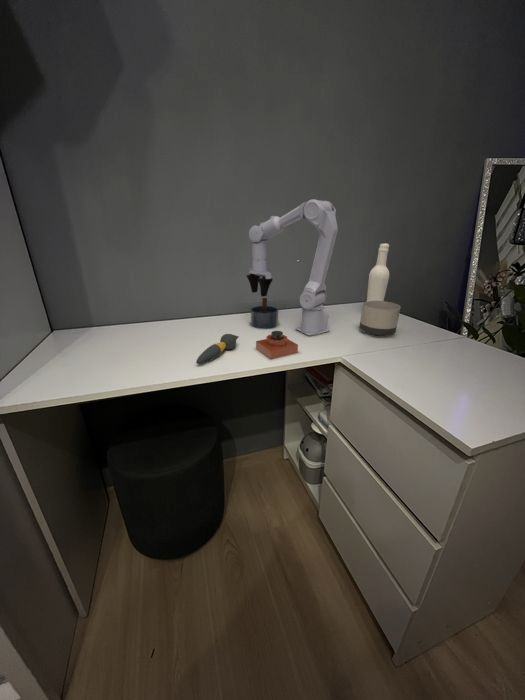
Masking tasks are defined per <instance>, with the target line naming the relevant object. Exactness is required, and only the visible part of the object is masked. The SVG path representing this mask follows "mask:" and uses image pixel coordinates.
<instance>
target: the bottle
mask: <svg viewBox="0 0 525 700" xmlns="http://www.w3.org/2000/svg"><path fill="white" fill-rule="evenodd" d="M389 247H390V244H389V243H380V244H379V248H378V250H377V251H378V252H377V259H376V264H375V265H374V266H373V267H372V268H371V270H370V272H369V274H368V282H367V295H366V301H385V297H386V293H387V288H388V285H389V280H390V271H389V268H388V267H387V261H388V260H387V259H388V253H389V250H390V249H389Z"/></svg>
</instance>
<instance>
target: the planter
mask: <svg viewBox="0 0 525 700" xmlns="http://www.w3.org/2000/svg"><path fill="white" fill-rule="evenodd" d="M400 313H401V305H399V304H397V303H395V302H392V301H391V302H390V301H386V300H384V301H367V300H366V301H364V302H362V307H361V313H360V314H361V315H360V318H359V325H358V328H359V329H360V330H361V331H362V332H364V333H365V334H367V335H371V336H375V337H387V336H392V335H394V334H395V333H396V332H397V327H398V323H399V318H400Z"/></svg>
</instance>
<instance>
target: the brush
mask: <svg viewBox="0 0 525 700" xmlns="http://www.w3.org/2000/svg"><path fill="white" fill-rule="evenodd" d="M261 299H262V301H261V306H262V311H260V312H258V313H271V312H269V311H267V306H268V298H267V297H263V298H261Z"/></svg>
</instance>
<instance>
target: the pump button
mask: <svg viewBox="0 0 525 700" xmlns="http://www.w3.org/2000/svg"><path fill="white" fill-rule="evenodd" d="M270 335H271V339H273V340H282V339H283V335H284V332H283V331H281V330H273V331H271V333H270Z"/></svg>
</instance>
